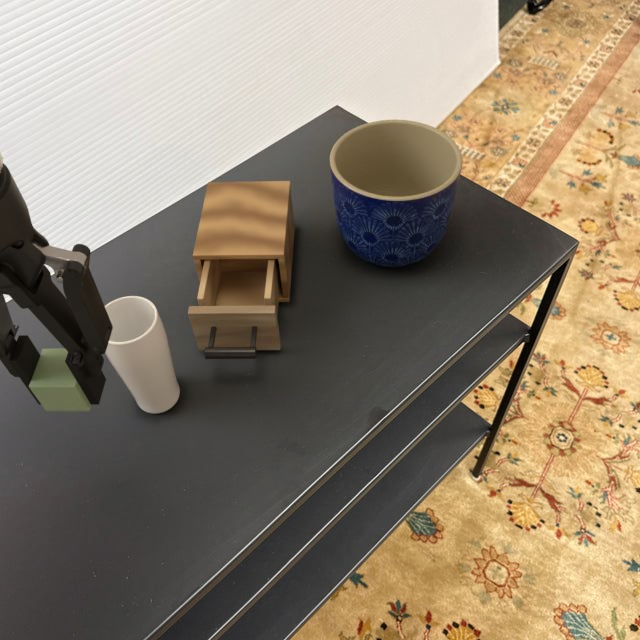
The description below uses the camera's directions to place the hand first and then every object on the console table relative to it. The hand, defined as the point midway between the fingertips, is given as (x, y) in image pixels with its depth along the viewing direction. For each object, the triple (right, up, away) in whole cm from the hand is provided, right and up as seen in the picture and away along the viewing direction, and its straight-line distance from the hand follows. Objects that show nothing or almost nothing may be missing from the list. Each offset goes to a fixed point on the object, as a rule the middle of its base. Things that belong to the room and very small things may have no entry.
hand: (72, 391), depth 58 cm
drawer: (+12, +6, +27) cm, 30 cm away
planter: (+32, +18, +37) cm, 52 cm away
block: (0, 0, 0) cm, 0 cm away
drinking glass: (+3, -3, +21) cm, 22 cm away
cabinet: (+12, +14, +35) cm, 40 cm away
